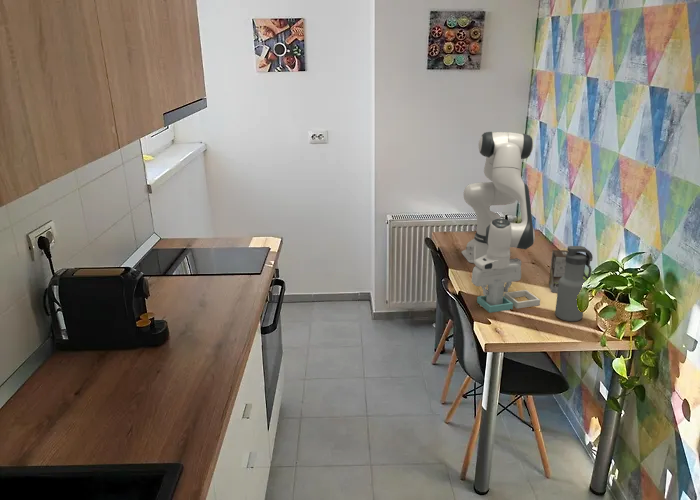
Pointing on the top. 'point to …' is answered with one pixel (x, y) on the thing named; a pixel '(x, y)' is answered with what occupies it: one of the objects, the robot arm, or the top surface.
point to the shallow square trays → (510, 301)
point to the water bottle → (572, 283)
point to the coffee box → (557, 268)
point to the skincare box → (495, 293)
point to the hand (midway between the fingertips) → (495, 293)
